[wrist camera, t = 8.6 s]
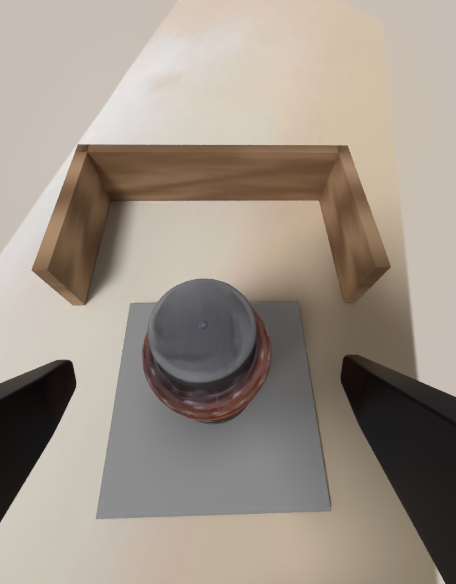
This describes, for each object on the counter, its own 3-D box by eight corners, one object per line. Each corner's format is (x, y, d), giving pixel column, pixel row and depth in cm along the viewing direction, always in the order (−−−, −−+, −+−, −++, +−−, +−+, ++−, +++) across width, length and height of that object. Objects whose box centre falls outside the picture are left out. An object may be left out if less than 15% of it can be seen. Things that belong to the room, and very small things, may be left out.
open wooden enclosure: (355, 301, 23) (390, 267, 18) (72, 305, 23) (31, 270, 18) (326, 193, 29) (347, 145, 24) (102, 193, 29) (77, 144, 24)
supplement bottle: (235, 328, 21) (247, 238, 11) (268, 403, 19) (320, 371, 9) (162, 356, 20) (104, 282, 10) (187, 440, 18) (142, 450, 8)
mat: (328, 509, 17) (331, 511, 16) (98, 517, 16) (95, 518, 16) (296, 303, 23) (298, 301, 23) (131, 305, 23) (130, 303, 22)
